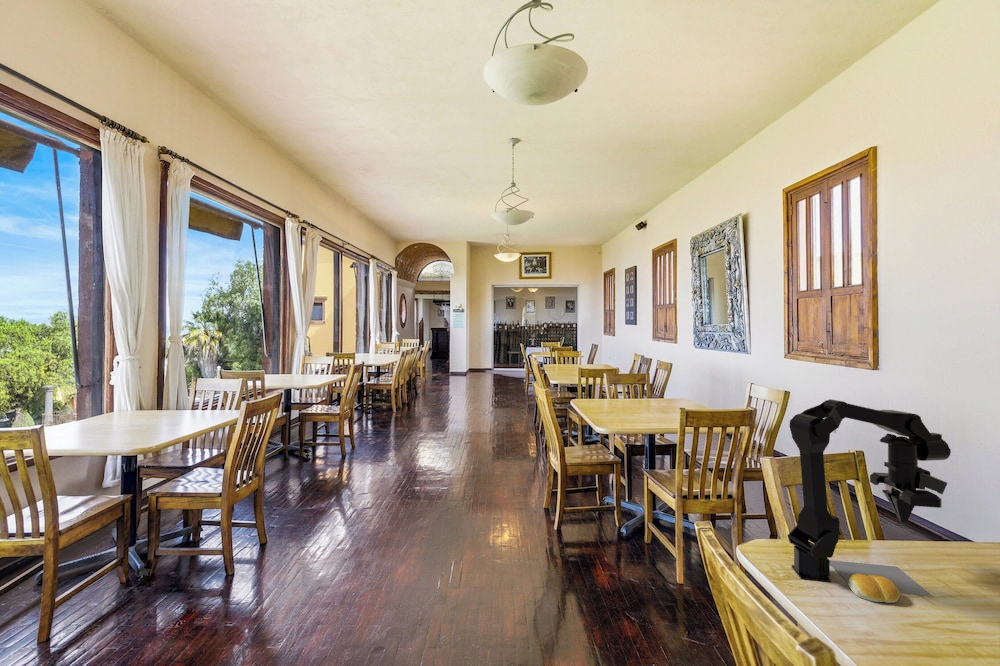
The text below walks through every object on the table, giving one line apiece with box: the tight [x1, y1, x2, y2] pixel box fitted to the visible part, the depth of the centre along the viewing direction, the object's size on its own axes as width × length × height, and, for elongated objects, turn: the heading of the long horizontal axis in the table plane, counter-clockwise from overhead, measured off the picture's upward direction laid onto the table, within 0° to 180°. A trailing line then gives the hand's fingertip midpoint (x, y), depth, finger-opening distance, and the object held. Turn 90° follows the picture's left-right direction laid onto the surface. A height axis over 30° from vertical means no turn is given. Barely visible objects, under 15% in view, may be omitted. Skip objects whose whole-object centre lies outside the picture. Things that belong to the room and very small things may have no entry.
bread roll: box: [847, 573, 901, 604], centre depth 106 cm, size 8×9×4 cm
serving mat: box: [829, 559, 934, 598], centre depth 114 cm, size 16×14×1 cm
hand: (903, 522), depth 118 cm, fingers closed
